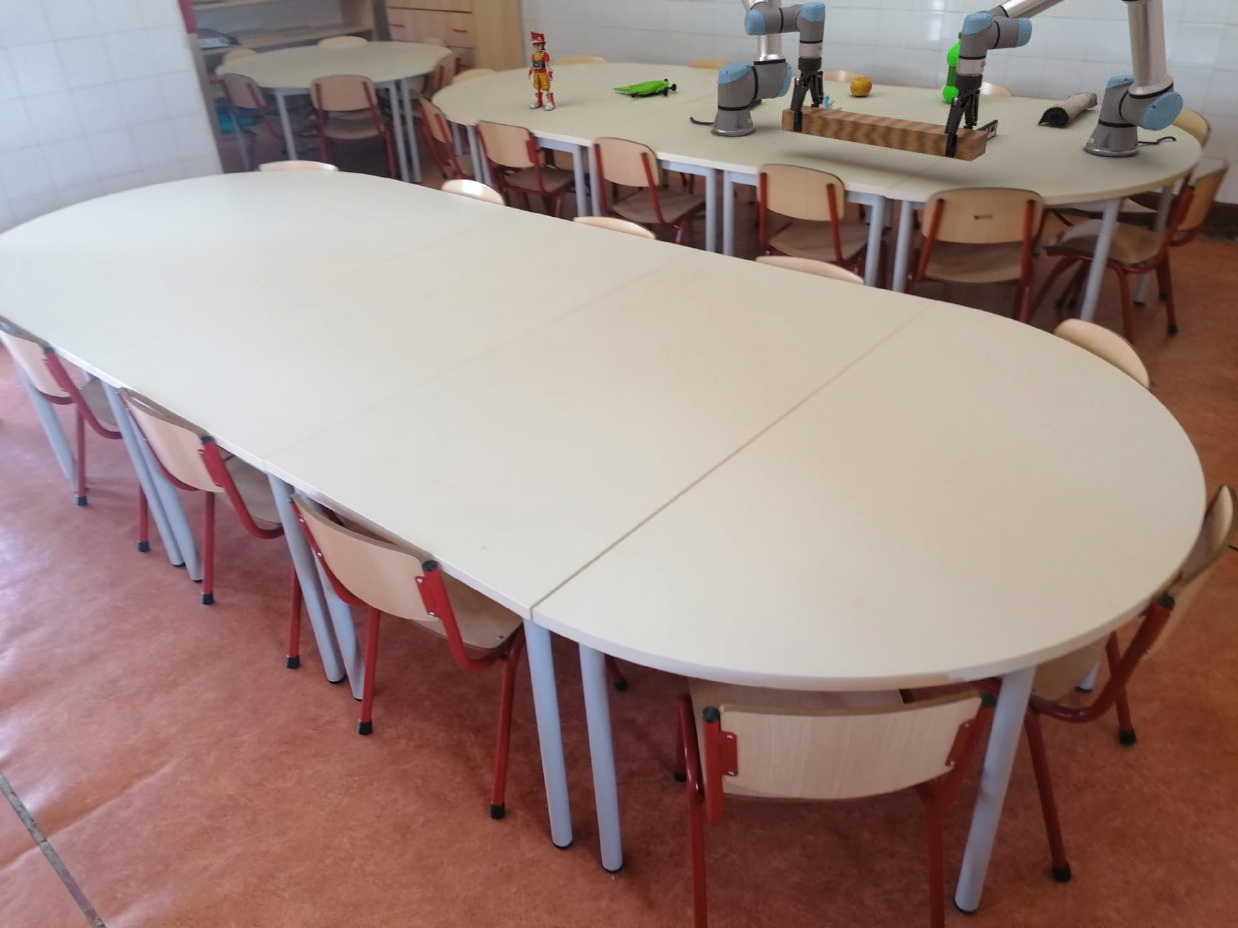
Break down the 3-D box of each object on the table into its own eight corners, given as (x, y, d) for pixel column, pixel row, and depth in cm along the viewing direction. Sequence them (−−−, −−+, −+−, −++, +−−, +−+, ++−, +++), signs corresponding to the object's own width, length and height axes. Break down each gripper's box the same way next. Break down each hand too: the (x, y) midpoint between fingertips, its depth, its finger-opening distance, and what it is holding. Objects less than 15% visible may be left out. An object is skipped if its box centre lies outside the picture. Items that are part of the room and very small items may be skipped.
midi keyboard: (974, 147, 304) (977, 131, 301) (970, 146, 305) (973, 131, 302) (995, 135, 315) (998, 120, 312) (992, 134, 315) (994, 119, 313)
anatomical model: (809, 92, 345) (834, 85, 344) (812, 119, 351) (837, 112, 350) (819, 101, 333) (845, 94, 332) (822, 129, 339) (848, 122, 338)
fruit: (845, 88, 367) (857, 70, 364) (847, 92, 375) (859, 74, 372) (862, 99, 366) (874, 81, 363) (864, 103, 374) (876, 85, 371)
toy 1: (525, 109, 381) (517, 32, 364) (534, 104, 388) (527, 28, 371) (550, 110, 377) (543, 32, 360) (559, 105, 384) (553, 28, 367)
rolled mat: (1065, 97, 339) (1089, 80, 331) (1078, 117, 340) (1103, 101, 331) (1034, 118, 322) (1058, 101, 314) (1048, 140, 322) (1073, 123, 314)
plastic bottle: (973, 101, 354) (984, 32, 339) (955, 106, 349) (966, 36, 335) (952, 97, 361) (962, 29, 346) (934, 102, 356) (944, 33, 342)
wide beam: (781, 130, 304) (782, 110, 300) (796, 124, 309) (797, 104, 306) (971, 161, 265) (974, 139, 261) (984, 153, 271) (988, 131, 267)
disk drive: (746, 111, 360) (762, 102, 370) (746, 104, 358) (762, 95, 368) (723, 109, 364) (739, 100, 374) (723, 102, 363) (739, 93, 373)
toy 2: (686, 85, 398) (631, 84, 414) (685, 72, 395) (629, 72, 411) (651, 104, 381) (596, 103, 397) (650, 92, 378) (594, 91, 394)
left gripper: (801, 64, 281) (796, 137, 294) (838, 51, 294) (832, 122, 307) (781, 61, 285) (777, 134, 298) (818, 49, 298) (813, 119, 311)
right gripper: (964, 82, 250) (952, 163, 263) (998, 67, 263) (985, 145, 276) (939, 80, 254) (928, 159, 267) (974, 65, 267) (962, 141, 280)
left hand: (805, 128), depth 302 cm, fingers closed on wide beam, 9 cm apart
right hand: (957, 152), depth 271 cm, fingers closed on wide beam, 9 cm apart
